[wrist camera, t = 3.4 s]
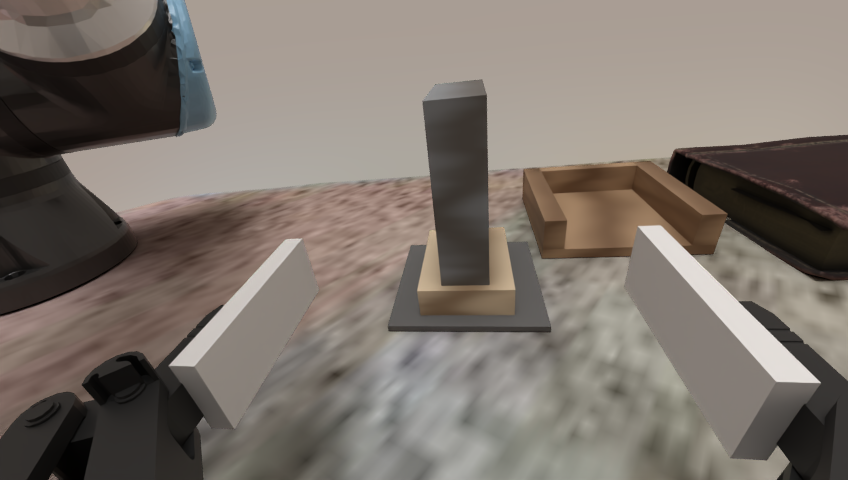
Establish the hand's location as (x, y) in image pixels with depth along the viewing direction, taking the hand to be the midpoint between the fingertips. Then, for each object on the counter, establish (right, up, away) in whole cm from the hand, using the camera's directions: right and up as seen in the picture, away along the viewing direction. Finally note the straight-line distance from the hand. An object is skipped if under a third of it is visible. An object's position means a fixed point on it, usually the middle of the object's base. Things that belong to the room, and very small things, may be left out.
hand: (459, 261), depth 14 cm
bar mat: (+2, -2, +12) cm, 12 cm away
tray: (+15, +3, +18) cm, 23 cm away
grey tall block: (+2, -2, +11) cm, 12 cm away
